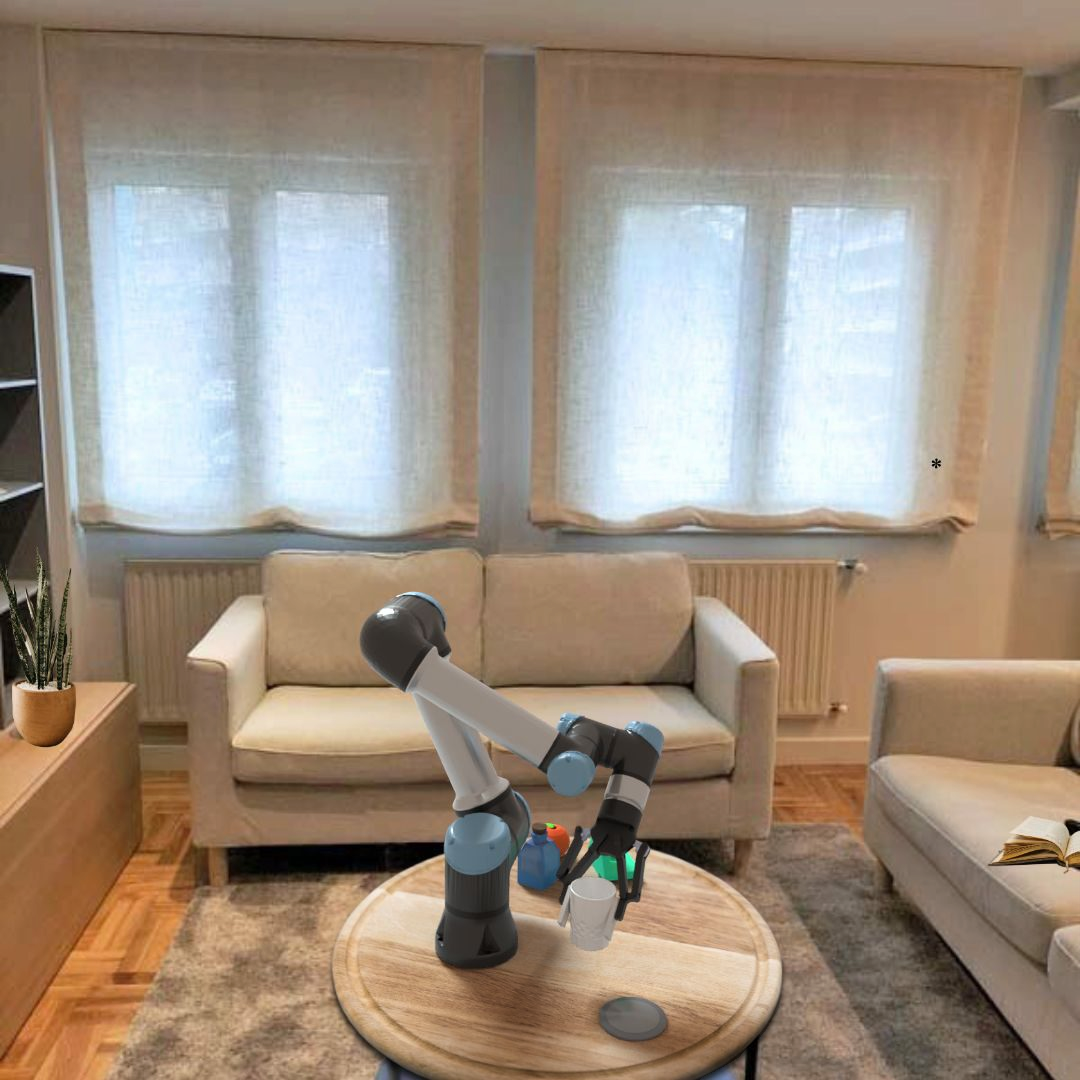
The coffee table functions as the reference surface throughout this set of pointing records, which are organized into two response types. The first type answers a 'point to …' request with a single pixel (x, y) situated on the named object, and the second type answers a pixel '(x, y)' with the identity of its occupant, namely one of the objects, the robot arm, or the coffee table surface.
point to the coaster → (632, 1018)
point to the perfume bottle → (538, 859)
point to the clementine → (558, 837)
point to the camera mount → (612, 866)
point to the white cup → (590, 911)
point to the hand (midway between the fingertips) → (583, 931)
